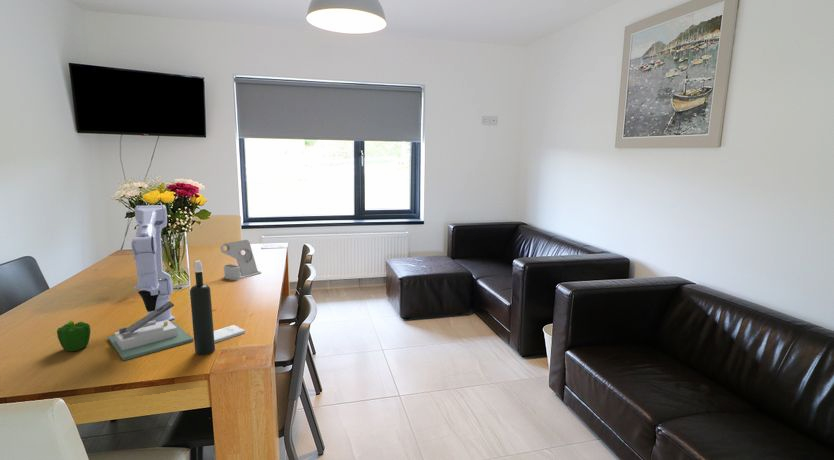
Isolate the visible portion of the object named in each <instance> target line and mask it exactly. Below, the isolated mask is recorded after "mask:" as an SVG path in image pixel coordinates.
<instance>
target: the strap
mask: <svg viewBox="0 0 834 460" xmlns="http://www.w3.org/2000/svg"><path fill="white" fill-rule="evenodd" d="M174 306H175V304H174V303H173V302H172V301H169V302H167V303H166V304H164V305H162V306H161V307H159V308H158V309H156V310H155V311H153V312H151V313H150V314H147V315H145V316H144V317H142V318H140V319H139V320H138V321H137V320H136V322H134V323H133V324H131V325H130V326H128V327H126V329H125V330H123V331H122V333H126V332H131V333H133V332H134V331H136V330H137V329H139V328H140V327H142V326H143V325H145V324H147V323H148V322H150V321H151V320H153V319H154V318H156V317H157V316H159V315H160V314H162V313H164V312H165V311H167V310H168V309H170V310H171V308H173V307H174Z"/></svg>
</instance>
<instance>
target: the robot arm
mask: <svg viewBox="0 0 834 460" xmlns="http://www.w3.org/2000/svg"><path fill="white" fill-rule="evenodd" d="M134 217H135V218H134V219H135V220H136V224H137V225H138V226H137V228H136V233H135V237H134V238H132V239H131V243H130V244H131V252H132V255H133V260H134V261H135V267H136V268H135V269H136V277H137V285H135V286H134V287H133V289H134V290H139V291H138V292H137V293H138V295H139V296H140V297H141V299H142V301H143V304H144V307H145V310H146V314H147V315H148V314H150V313H151V312H153V311H155V310H156V309H158V308H159V307H161V306H162V305H164V304H166V303H167V302H169V301H170V300H171V299H170V296H171V295H172V294H173V292H174V287H173V285H174V284H173V280H172V276H171V274H170V273H168V272H166V271H164V270H163V269H164V266H163V249H162V231H163V229H164V228H167V225H168V211H167V206H166V205H165V204H160V205H159V204H158V205H157V204H155V205H153V204H151V205H136V206H135V207H134ZM170 302H171V301H170ZM171 311H172V310H171V308H170V309H168V310H167V311H165V312H164V313H162V314H160V315H159V316H157V317H156V318H154V319H153V320H151V321H156V322H161V321H165V320H169V321H173V320H175V318H176V317H175V316H174V315H172V312H171Z"/></svg>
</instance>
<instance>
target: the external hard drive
mask: <svg viewBox="0 0 834 460" xmlns="http://www.w3.org/2000/svg"><path fill="white" fill-rule="evenodd" d="M243 334H246V330H245V329H243V328H241V327H239V326H237V325H235V324H231V325H230V326H225V327H222V328H219V329H216V330H214V342H215V344H216V343H220V342H222V341H225V340H228V339H231V338H234V337H238V336H240V335H243Z"/></svg>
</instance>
